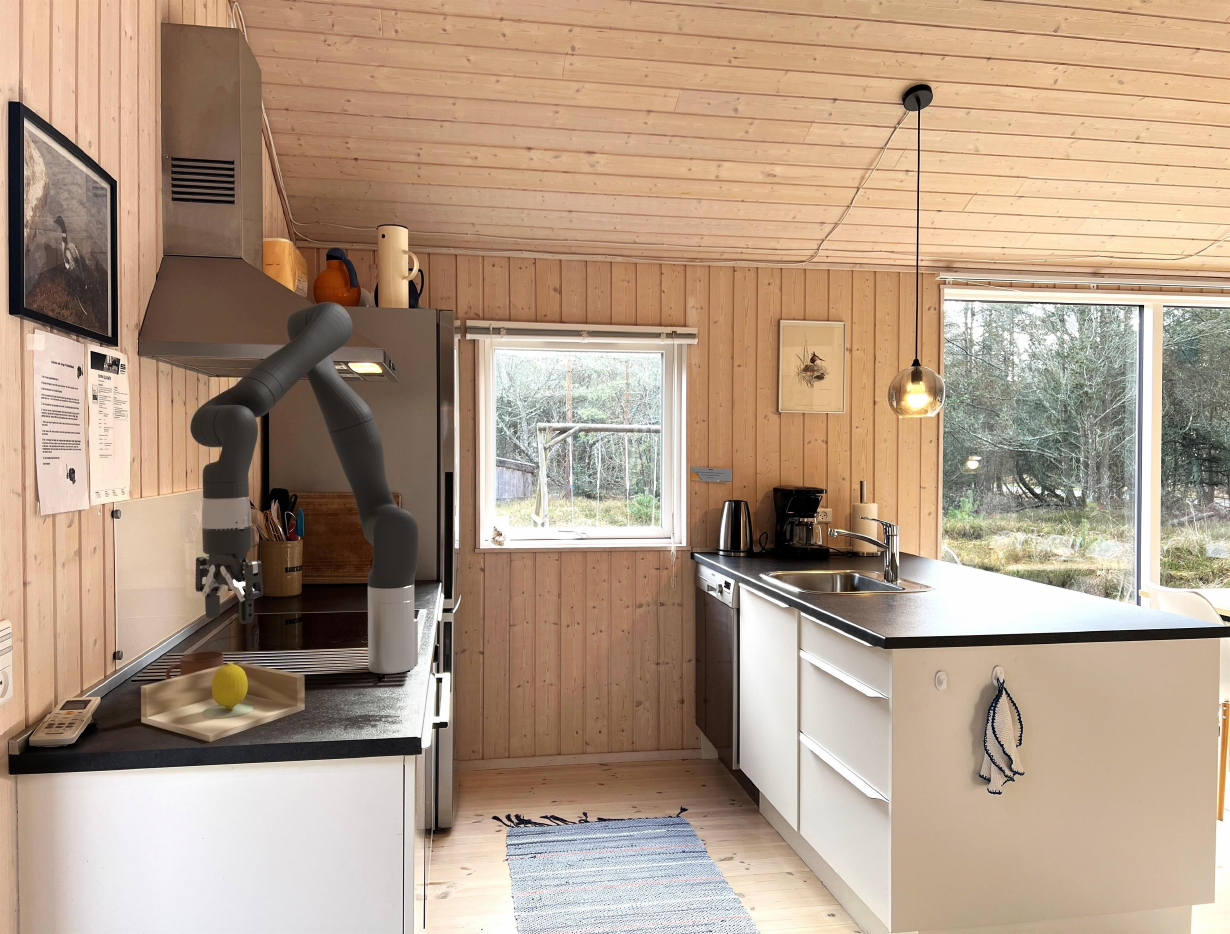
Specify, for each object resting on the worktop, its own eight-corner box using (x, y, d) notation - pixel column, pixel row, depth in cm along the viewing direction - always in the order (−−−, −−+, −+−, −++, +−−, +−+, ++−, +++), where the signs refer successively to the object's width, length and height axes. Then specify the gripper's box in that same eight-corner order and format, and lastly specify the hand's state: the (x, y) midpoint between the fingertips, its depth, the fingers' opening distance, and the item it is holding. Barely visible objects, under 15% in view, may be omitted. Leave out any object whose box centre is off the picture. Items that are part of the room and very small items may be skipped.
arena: (237, 693, 154) (237, 661, 154) (304, 709, 145) (304, 675, 145) (141, 722, 138) (140, 686, 138) (210, 741, 129) (209, 703, 129)
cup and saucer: (192, 701, 150) (192, 667, 149) (152, 691, 155) (152, 659, 155) (250, 684, 160) (250, 653, 160) (211, 676, 166) (210, 645, 166)
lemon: (249, 703, 144) (249, 657, 144) (245, 713, 139) (244, 665, 139) (215, 706, 143) (214, 659, 143) (209, 716, 138) (208, 668, 137)
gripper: (179, 524, 140) (182, 620, 141) (235, 528, 133) (237, 629, 134) (219, 520, 147) (222, 612, 147) (274, 524, 140) (277, 620, 140)
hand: (229, 620), depth 140 cm, fingers open, 8 cm apart
